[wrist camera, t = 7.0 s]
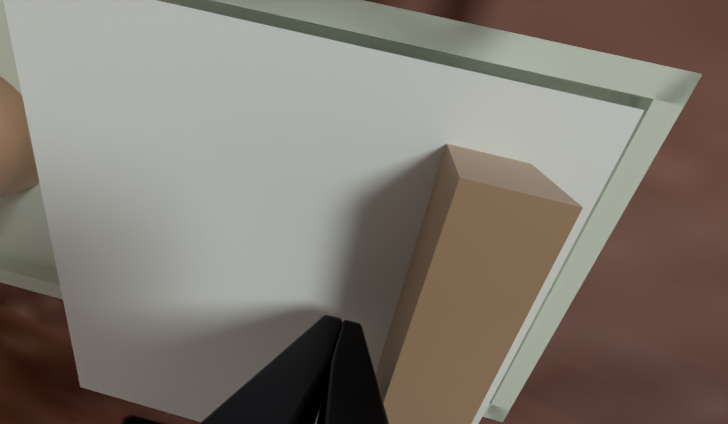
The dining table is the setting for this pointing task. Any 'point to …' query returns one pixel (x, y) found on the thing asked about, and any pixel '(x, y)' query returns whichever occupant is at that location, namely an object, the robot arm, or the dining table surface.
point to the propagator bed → (442, 46)
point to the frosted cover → (295, 202)
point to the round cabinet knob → (15, 144)
